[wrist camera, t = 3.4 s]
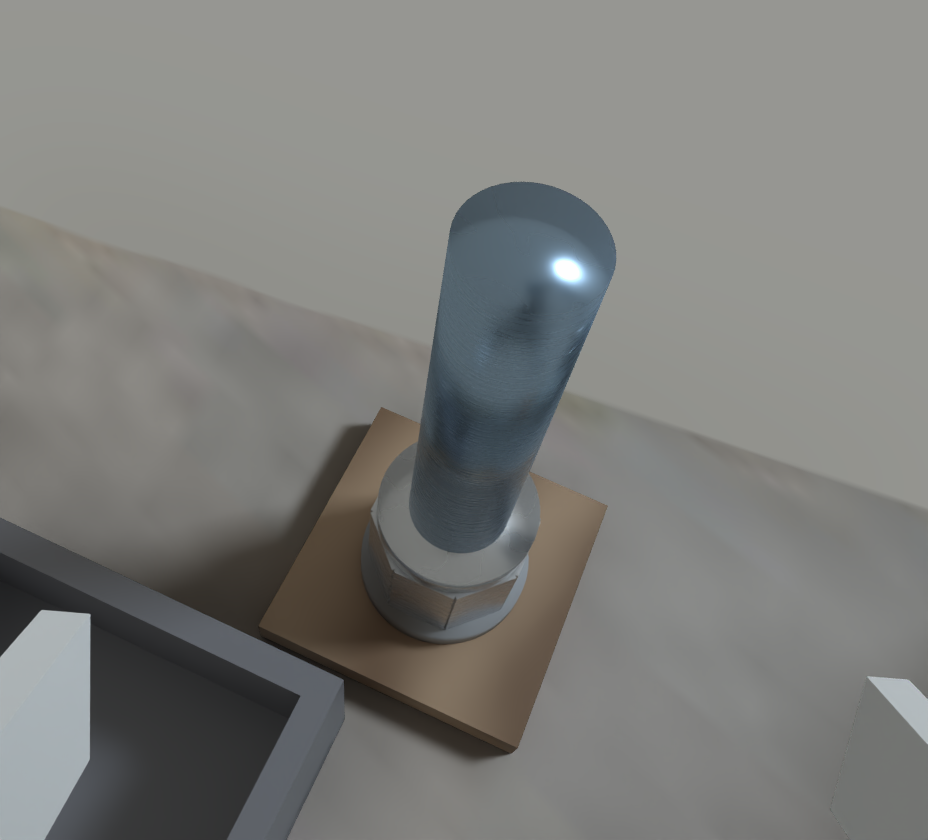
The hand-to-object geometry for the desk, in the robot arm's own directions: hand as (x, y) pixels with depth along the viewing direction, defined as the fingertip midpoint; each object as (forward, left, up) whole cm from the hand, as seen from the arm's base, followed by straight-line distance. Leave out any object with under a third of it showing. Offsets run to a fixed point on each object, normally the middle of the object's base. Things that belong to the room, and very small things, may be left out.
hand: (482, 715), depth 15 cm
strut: (+3, -9, -18) cm, 20 cm away
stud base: (+3, -9, -20) cm, 23 cm away
